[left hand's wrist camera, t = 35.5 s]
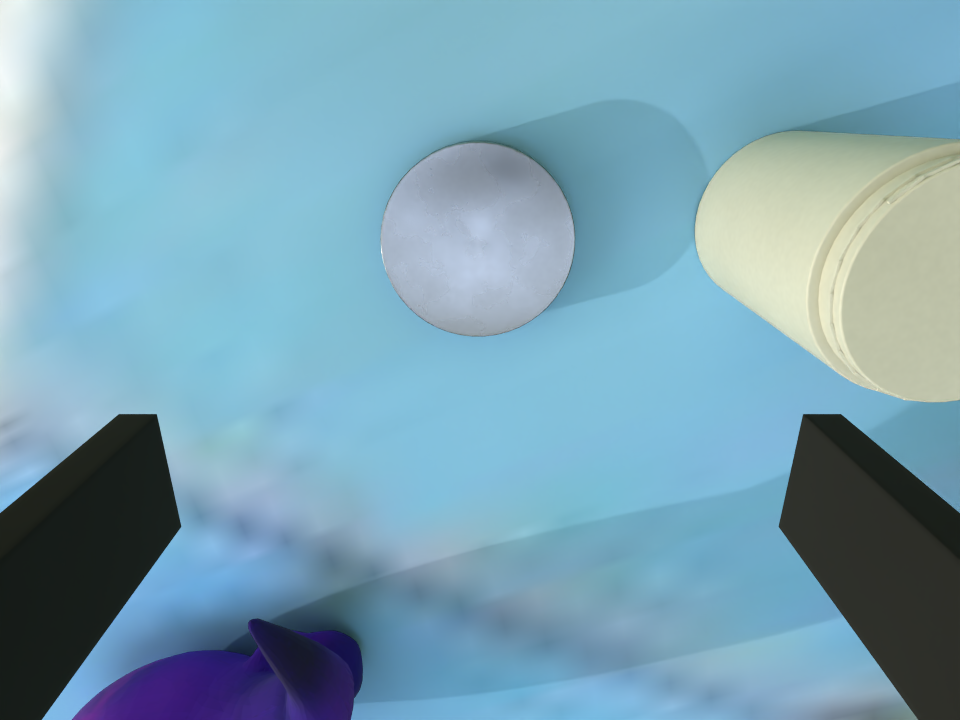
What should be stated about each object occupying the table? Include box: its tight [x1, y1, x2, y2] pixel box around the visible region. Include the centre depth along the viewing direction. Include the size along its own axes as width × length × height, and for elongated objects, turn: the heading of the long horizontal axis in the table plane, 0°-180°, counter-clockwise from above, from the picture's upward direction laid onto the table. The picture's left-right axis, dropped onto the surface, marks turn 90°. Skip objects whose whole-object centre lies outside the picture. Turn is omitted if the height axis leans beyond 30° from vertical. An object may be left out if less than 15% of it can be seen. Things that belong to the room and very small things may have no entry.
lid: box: [381, 141, 575, 336], centre depth 36 cm, size 11×11×2 cm
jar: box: [695, 131, 960, 402], centre depth 29 cm, size 10×10×15 cm
